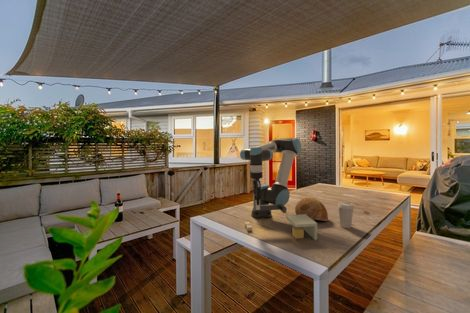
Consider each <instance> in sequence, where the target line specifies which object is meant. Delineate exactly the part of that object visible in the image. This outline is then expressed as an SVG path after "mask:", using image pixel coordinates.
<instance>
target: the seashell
mask: <svg viewBox="0 0 470 313" xmlns="http://www.w3.org/2000/svg"><path fill="white" fill-rule="evenodd" d="M294 209H295V210H294V211H295V212H294V213H295V215H302V214H306V215H307V216H308V217H310V218H311V219H312V220H314V221H315V220H317V221H324V222H328V220H329V214H328V211H327V209H326V207H325V205H324V203H323V202H321V201H320V200H319V199H316V198H315V197H304V198H302V199H301V200H299V201H298V202H297V203H296V205H295V207H294Z"/></svg>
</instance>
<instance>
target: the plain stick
mask: <svg viewBox="0 0 470 313" xmlns="http://www.w3.org/2000/svg"><path fill="white" fill-rule="evenodd" d="M245 227H246V228H245ZM244 228H245V229H247V230H246V231H252V232H253V226H252V225H251V223H250V222H249V221H244Z"/></svg>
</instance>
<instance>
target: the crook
mask: <svg viewBox="0 0 470 313" xmlns="http://www.w3.org/2000/svg"><path fill="white" fill-rule="evenodd" d="M252 198H253V199H252V204H253V205H252V209H253V210H254V211H265V210H271V211H276V210H277V211H278V210H280V211H281V212H282V214H287V207H286V206H285V205H283V204H268V205H261V199H260V210H256V207H255V199H256V194H253V193H252Z"/></svg>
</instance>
